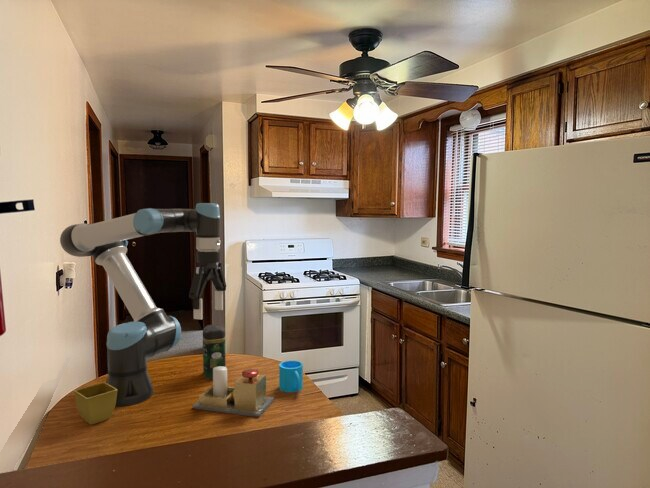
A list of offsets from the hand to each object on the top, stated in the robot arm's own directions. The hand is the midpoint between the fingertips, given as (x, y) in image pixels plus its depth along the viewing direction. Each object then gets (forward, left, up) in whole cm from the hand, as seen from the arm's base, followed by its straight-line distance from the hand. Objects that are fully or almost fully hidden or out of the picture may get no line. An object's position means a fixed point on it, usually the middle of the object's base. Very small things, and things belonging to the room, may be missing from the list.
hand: (209, 314), depth 145 cm
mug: (+26, +10, -27) cm, 39 cm away
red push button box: (+12, -6, -27) cm, 30 cm away
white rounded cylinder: (+7, -6, -26) cm, 27 cm away
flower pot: (-22, -26, -27) cm, 43 cm away
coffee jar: (-6, +14, -27) cm, 31 cm away
